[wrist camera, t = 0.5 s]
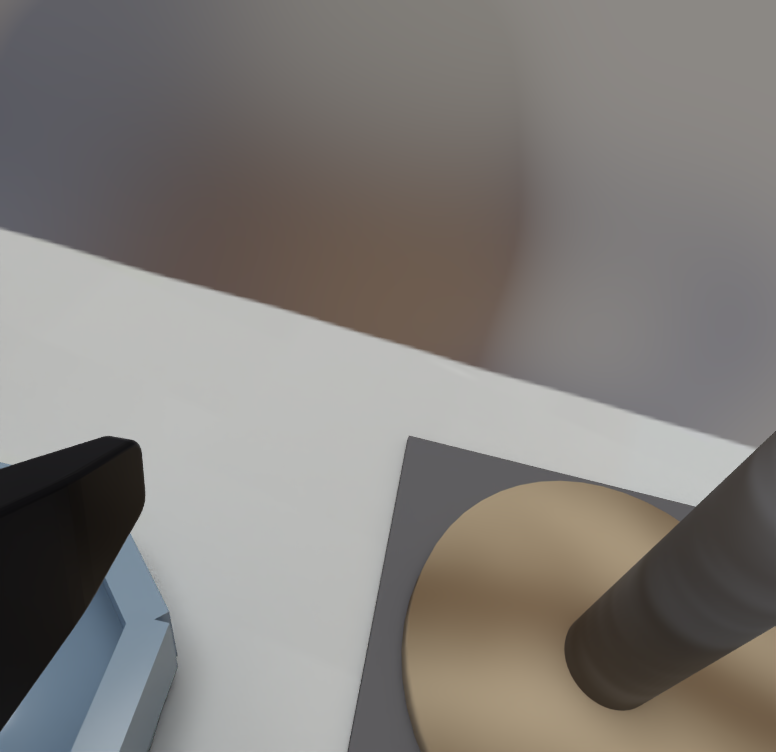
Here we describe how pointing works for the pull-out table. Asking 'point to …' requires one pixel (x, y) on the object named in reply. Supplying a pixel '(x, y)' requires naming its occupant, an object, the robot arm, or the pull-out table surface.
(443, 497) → the mat
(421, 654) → the paper towel holder
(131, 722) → the bowl
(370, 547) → the pull-out table surface
